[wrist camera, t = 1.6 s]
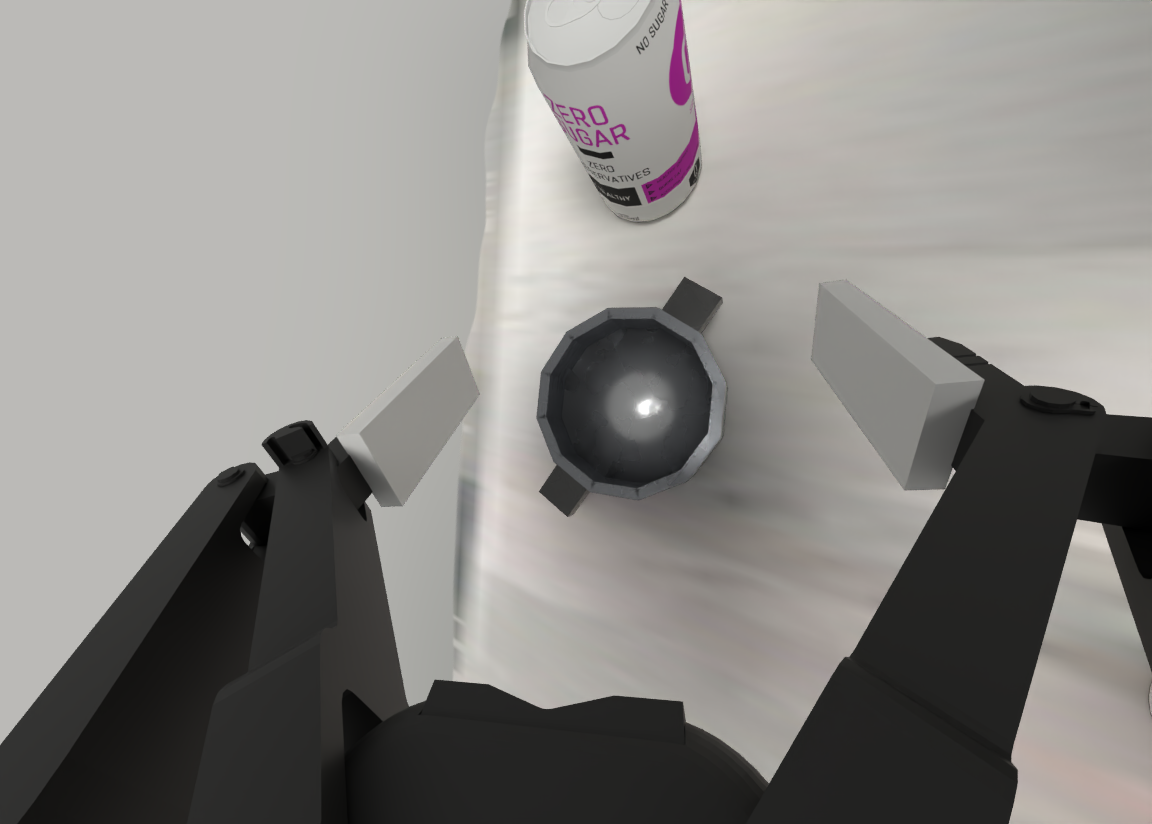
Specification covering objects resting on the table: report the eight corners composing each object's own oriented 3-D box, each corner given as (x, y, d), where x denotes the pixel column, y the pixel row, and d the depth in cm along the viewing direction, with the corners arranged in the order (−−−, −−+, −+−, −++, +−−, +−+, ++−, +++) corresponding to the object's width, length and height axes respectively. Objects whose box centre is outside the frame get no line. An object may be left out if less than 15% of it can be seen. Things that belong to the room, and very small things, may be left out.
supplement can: (698, 112, 32) (668, -134, 18) (705, 212, 32) (678, 38, 18) (601, 144, 35) (511, -46, 21) (605, 236, 35) (516, 103, 21)
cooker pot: (636, 263, 33) (623, 242, 30) (788, 349, 29) (796, 337, 25) (516, 448, 37) (491, 450, 33) (635, 551, 32) (622, 567, 28)
